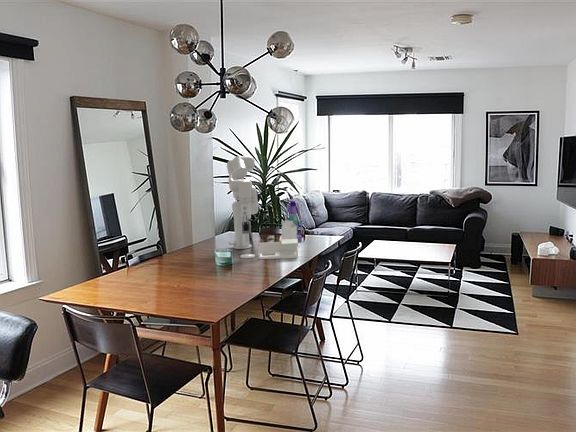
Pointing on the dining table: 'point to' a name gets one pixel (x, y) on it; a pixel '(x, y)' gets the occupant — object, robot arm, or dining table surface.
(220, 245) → the dining table surface
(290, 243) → the cover
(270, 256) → the frame with rectangular opening
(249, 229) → the block
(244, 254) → the white flat disc
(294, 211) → the lantern
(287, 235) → the milk carton
